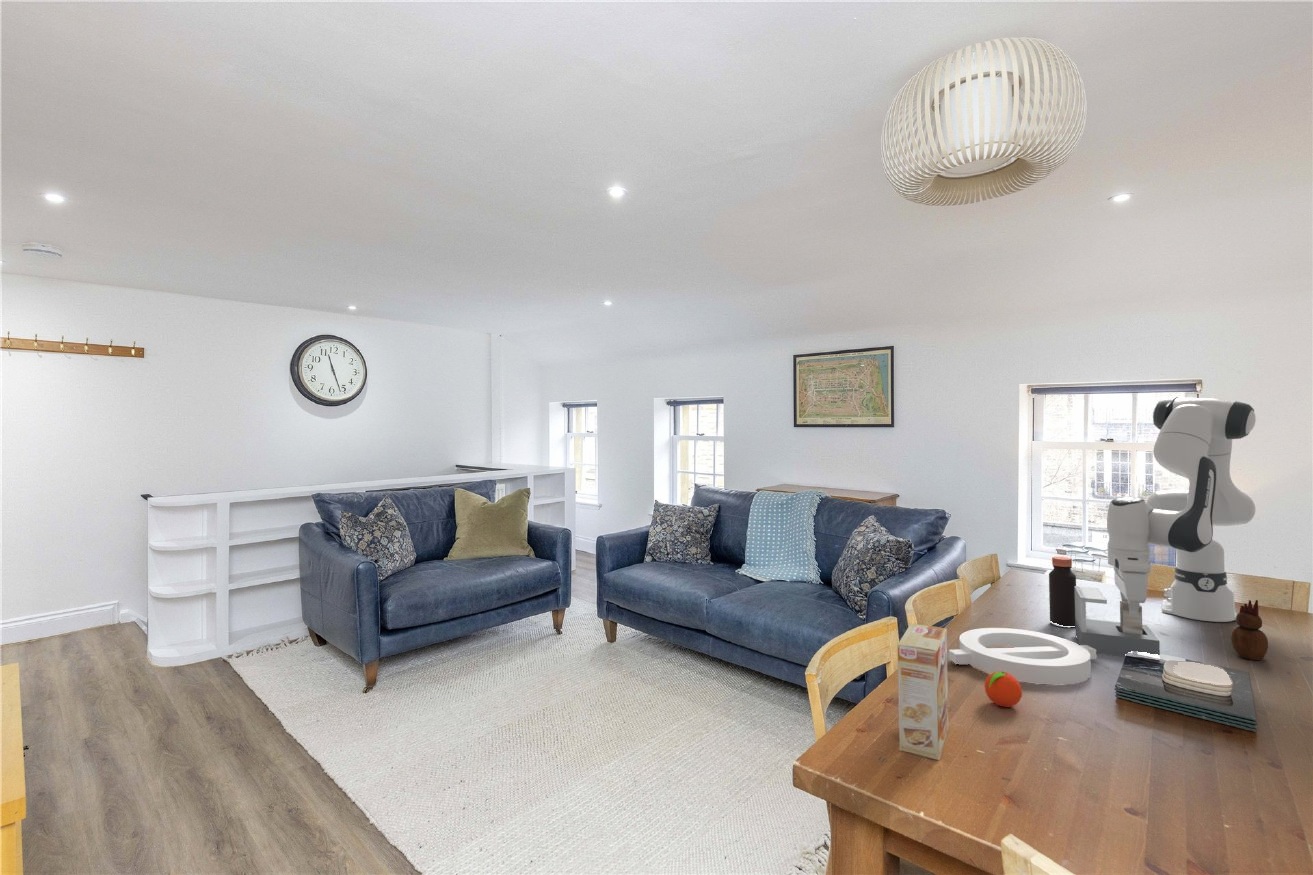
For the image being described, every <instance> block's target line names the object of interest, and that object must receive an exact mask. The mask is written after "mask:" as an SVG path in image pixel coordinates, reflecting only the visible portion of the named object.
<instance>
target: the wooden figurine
mask: <svg viewBox="0 0 1313 875" xmlns="http://www.w3.org/2000/svg"><path fill="white" fill-rule="evenodd" d="M1236 614H1237V616H1236V620H1235V622H1236V624H1237V625H1238V626H1236V627H1234V628H1233V629H1232V631H1231V636H1230V642H1231V645H1232V648H1233V650H1234V652H1235V653H1236V654H1237V655H1238V656H1240V657H1241V658H1243V659H1247V660H1250V661H1261V660H1263V659H1264V658H1265V657H1266V655H1267V653H1268V649H1269V641H1268V637H1267V634H1265V633H1264V631H1262V630H1260V629H1261V628H1262V626H1263V619H1262V617H1261V616H1260V615H1259V600H1258V599H1256V600H1255V601H1254V605H1253V603H1252V600H1250V599H1249V600H1248V603H1244V605H1240V608H1239V612H1238V613H1236Z"/></svg>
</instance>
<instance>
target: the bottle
mask: <svg viewBox="0 0 1313 875" xmlns="http://www.w3.org/2000/svg"><path fill="white" fill-rule="evenodd" d="M1051 562H1052V563H1051V565H1052V567H1053V569H1052V570H1051V571H1050V572H1049V573H1048V592H1049V595H1048V596H1049V599H1048V600H1049V622H1050V621H1052V622H1053V623H1057V624H1059V625H1063V626H1075V587H1074V586H1077V576H1076V574H1075V573H1074V572H1073V571H1072V570H1071V569H1072V568H1073V567H1072V566H1073V559H1072V558H1071V557H1068V556H1052V557H1051Z"/></svg>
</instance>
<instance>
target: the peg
mask: <svg viewBox="0 0 1313 875" xmlns="http://www.w3.org/2000/svg"><path fill="white" fill-rule="evenodd" d="M1128 608H1129V603H1128V602H1124V601H1122V600H1120V601H1119V620H1120V621H1119V622H1120V629H1121V632H1123V633H1132V634H1141V635H1143V632H1142V625H1143V606H1142V605H1141V603H1139V609H1138V617H1131V616H1130V615H1129V614H1128Z"/></svg>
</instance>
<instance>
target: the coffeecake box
mask: <svg viewBox="0 0 1313 875" xmlns="http://www.w3.org/2000/svg"><path fill="white" fill-rule="evenodd" d="M947 633H948V629H947V627H946V628H945V627H940V626H934V625H926V624H925V625H923V624H918V623H910V624H909V626H908V627H907V629H906V631H905V632H904V634H903V636H902V637H901V638H900V640H899V641H898V642H897V676H898V679H897V682H898V684H897V686H898V687H897V688H898V735H899V736H898V739H899V741H898V742H899V744H898V745H899V748H898V750H899V751H900V752H905V753H909V754H912V755H913V754H914V755H918V756H921V757H924V758H928V759H933V760H936V761H940V759H941V756H942V752H943V749H944V745H945V741H946V738H947V734H948V730H949V701H948V700H949V696H948V695H949V694H948V693H949V692H948V691H949V690H948V640H947V639H948V638H947V637H948V636H947V635H948V634H947Z"/></svg>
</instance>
